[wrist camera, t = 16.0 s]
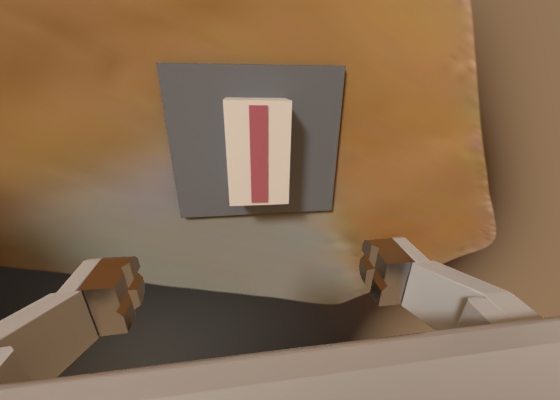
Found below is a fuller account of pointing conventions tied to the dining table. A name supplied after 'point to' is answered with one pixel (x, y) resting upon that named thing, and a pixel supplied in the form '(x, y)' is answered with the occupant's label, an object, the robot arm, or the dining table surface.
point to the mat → (211, 132)
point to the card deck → (258, 150)
